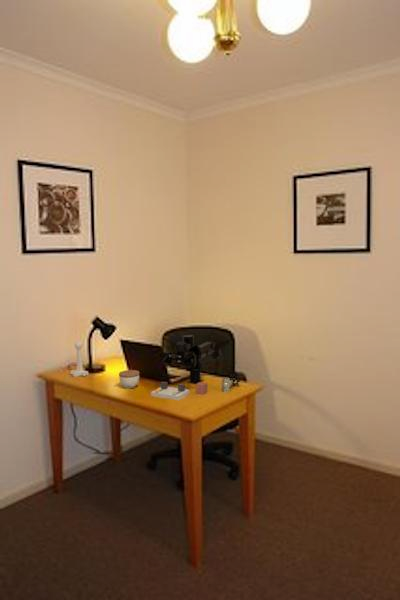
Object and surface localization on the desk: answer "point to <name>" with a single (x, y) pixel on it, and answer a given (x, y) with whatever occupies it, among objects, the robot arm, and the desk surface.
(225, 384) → the valve
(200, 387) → the block
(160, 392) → the panel
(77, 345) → the joystick
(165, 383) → the lever tagged
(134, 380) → the lidded jar
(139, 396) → the desk surface
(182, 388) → the lever
